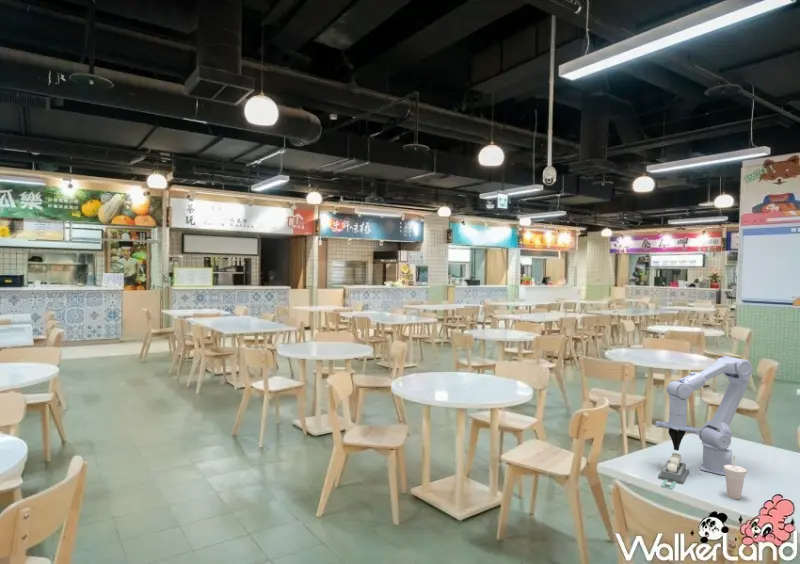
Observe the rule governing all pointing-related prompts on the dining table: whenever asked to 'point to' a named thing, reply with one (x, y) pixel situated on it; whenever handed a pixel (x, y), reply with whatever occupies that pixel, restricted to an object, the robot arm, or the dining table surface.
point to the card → (668, 484)
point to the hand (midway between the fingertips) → (676, 449)
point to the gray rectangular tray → (674, 474)
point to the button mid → (675, 461)
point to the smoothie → (734, 480)
